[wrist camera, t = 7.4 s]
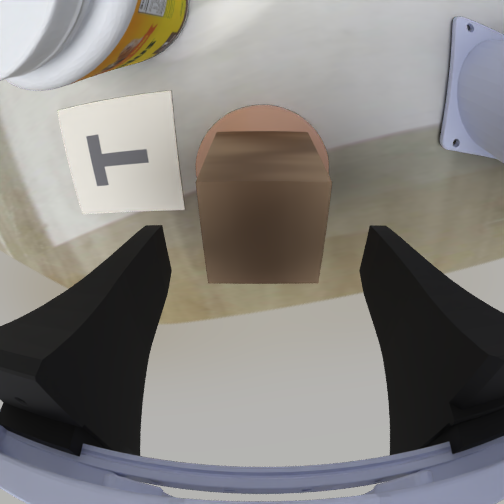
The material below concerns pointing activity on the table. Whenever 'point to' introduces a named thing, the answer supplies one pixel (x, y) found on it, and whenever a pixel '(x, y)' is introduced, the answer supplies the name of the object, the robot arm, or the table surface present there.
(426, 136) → the table surface
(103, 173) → the letter tile
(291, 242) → the walnut block
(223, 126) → the pink rounded smooth part
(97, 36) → the supplement bottle
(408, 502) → the robot arm
